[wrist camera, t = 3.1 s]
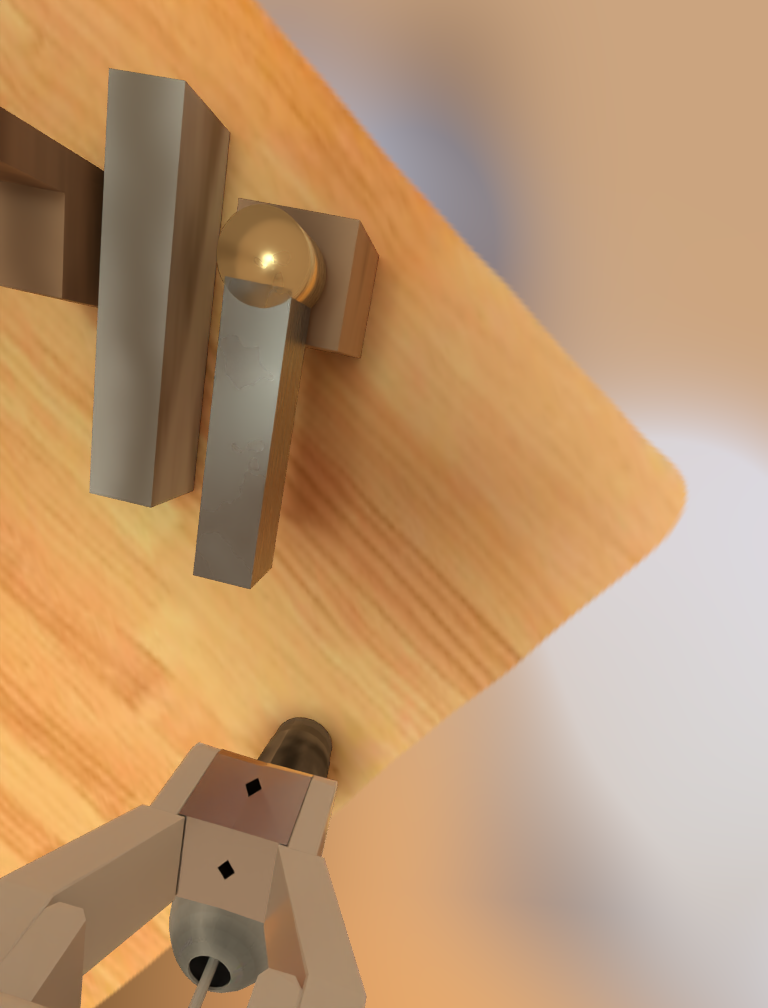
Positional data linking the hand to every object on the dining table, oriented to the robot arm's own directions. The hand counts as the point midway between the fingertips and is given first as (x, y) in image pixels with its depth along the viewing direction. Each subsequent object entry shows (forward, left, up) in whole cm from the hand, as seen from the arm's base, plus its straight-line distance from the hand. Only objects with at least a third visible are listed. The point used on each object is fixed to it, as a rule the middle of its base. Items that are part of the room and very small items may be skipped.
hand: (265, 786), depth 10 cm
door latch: (-14, +9, -24) cm, 29 cm away
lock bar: (-7, +5, -16) cm, 19 cm away
